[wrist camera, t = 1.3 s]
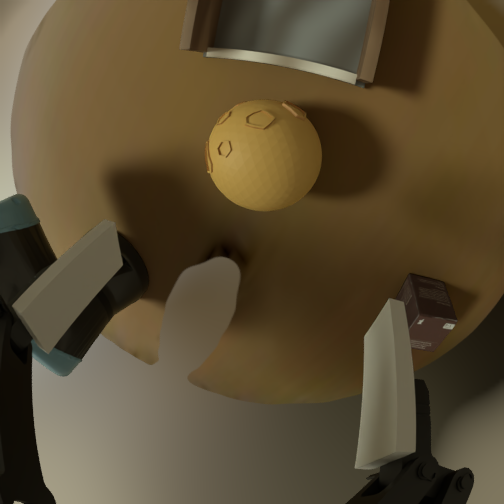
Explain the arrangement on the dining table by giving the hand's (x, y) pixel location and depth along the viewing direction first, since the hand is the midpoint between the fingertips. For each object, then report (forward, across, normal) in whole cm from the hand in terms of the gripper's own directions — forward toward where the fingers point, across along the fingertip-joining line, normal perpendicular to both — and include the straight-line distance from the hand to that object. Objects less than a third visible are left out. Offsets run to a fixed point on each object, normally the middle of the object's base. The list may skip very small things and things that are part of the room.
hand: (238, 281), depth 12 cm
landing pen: (+19, -3, +18) cm, 26 cm away
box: (+19, +20, -12) cm, 31 cm away
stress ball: (+19, -2, +2) cm, 20 cm away
